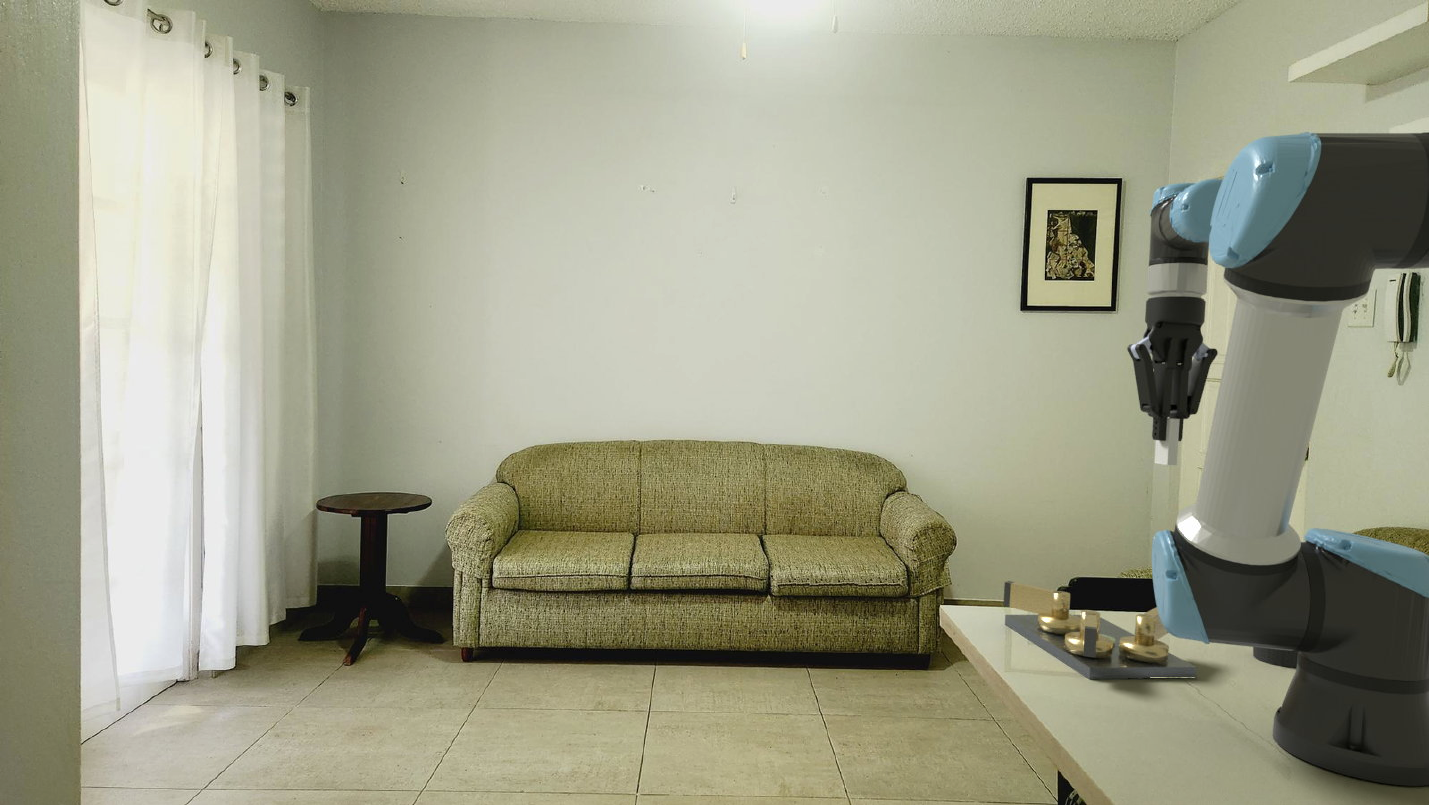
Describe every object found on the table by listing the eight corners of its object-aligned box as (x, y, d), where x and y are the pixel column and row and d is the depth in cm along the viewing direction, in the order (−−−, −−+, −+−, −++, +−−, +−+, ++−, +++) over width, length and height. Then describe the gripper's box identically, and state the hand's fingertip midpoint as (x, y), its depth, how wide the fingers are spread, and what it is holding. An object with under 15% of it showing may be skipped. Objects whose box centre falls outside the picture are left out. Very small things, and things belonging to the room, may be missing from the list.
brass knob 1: (1087, 629, 135) (1090, 594, 135) (1071, 637, 130) (1073, 601, 130) (1013, 611, 143) (1015, 578, 142) (995, 618, 138) (997, 584, 138)
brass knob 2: (1064, 641, 129) (1067, 604, 128) (1111, 647, 126) (1113, 610, 126) (1063, 665, 118) (1065, 625, 118) (1114, 673, 116) (1116, 632, 115)
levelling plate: (1195, 678, 120) (1197, 660, 120) (1089, 679, 118) (1090, 660, 118) (1095, 624, 144) (1096, 609, 144) (1004, 624, 142) (1005, 609, 142)
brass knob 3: (1159, 665, 119) (1162, 626, 119) (1112, 654, 123) (1114, 615, 123) (1186, 647, 128) (1188, 610, 128) (1141, 637, 132) (1143, 601, 132)
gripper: (1197, 302, 134) (1187, 463, 135) (1117, 296, 132) (1108, 460, 133) (1236, 298, 127) (1225, 468, 128) (1152, 291, 125) (1141, 465, 125)
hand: (1165, 464), depth 130 cm, fingers closed
